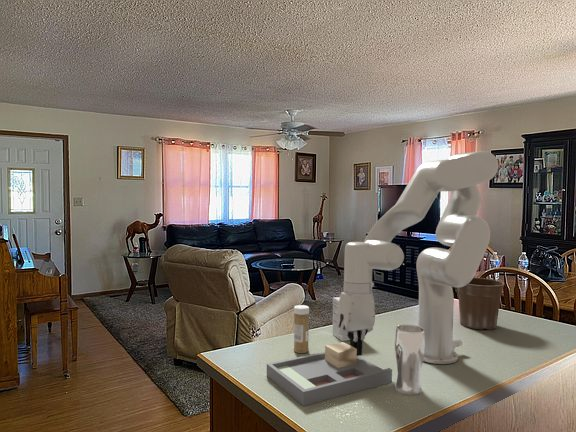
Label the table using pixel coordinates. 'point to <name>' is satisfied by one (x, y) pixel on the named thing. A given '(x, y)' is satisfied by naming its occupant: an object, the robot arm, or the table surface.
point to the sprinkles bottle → (301, 328)
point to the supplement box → (335, 327)
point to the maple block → (340, 354)
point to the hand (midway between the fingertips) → (355, 354)
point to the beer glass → (409, 358)
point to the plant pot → (480, 303)
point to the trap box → (324, 377)
